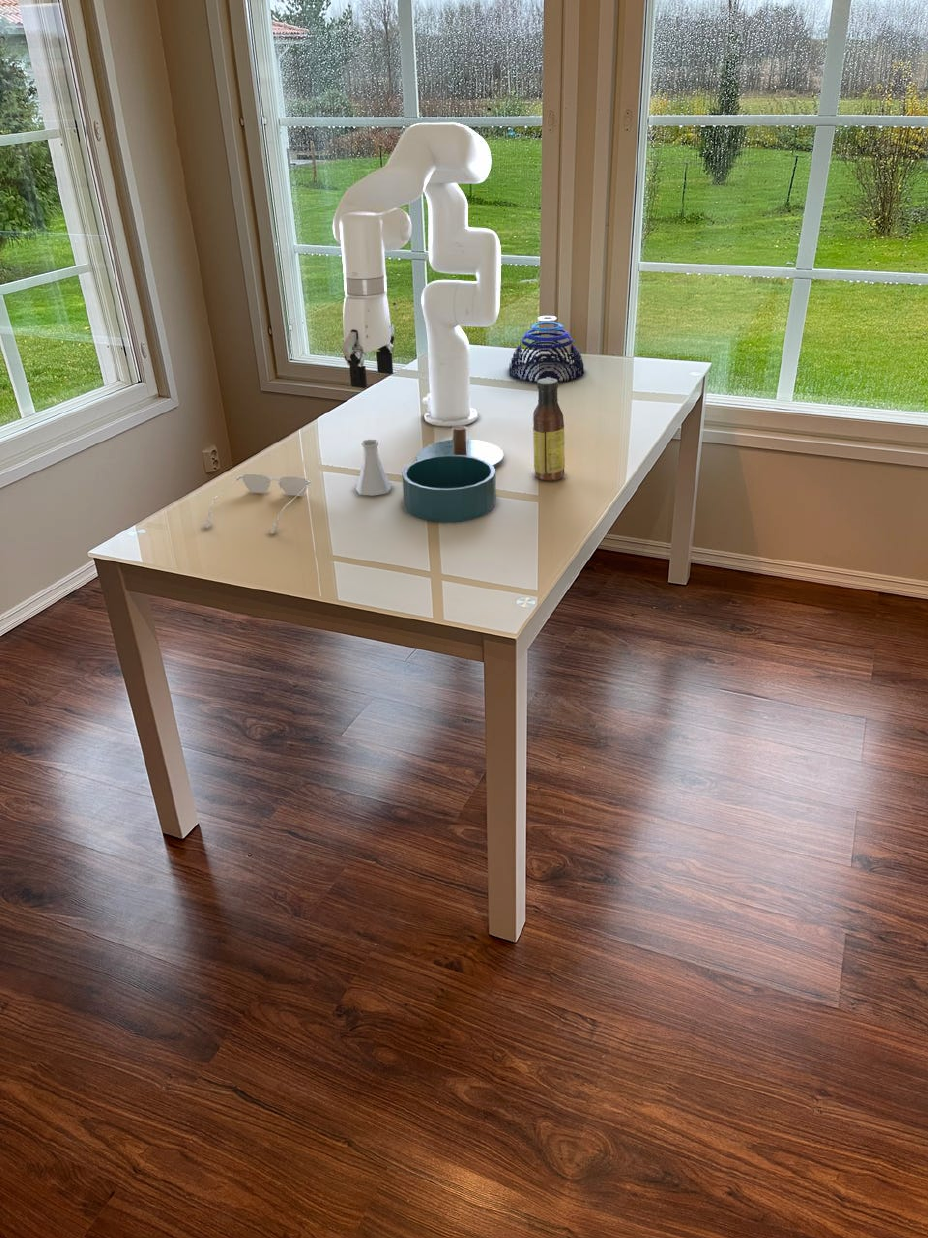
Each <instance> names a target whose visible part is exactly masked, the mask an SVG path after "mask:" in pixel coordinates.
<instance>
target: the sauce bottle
mask: <svg viewBox="0 0 928 1238" xmlns="http://www.w3.org/2000/svg"><path fill="white" fill-rule="evenodd" d="M536 381H537V380H536ZM536 384H537V385H536V388H537V390H538V391H537V392H538V393H537V394H538V400H537V404H536V407H535V408H534V410H533V413H532V420H533V421H532V423H533V427H532V437H533V438H532V439H533V443H532V444H533V470H534V475H535V477H536V478H537V479H538V480H542V481H548V482H549V481H556V480H557V481H558V480H560V479H562V478H564V475H565V468H566V463H565V460H566V459H565V456H566V454H565V452H566V451H565V419H564V414H563V412H562V409H561V408H560V405H559V403H558V402H559V401H558V389H559V383H558V380H556V379H553V378H550V377H546V378H544V379H540V380H538V381H537V383H536Z"/></svg>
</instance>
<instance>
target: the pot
mask: <svg viewBox="0 0 928 1238" xmlns="http://www.w3.org/2000/svg"><path fill="white" fill-rule="evenodd" d="M401 475H402V477H401V478H402V493H403V503H404V508H405V510H406V511H407V513H409V514H410V515H412V516H413V517H416V518H418V519H419V520H420V519H421V520H425V521H430V522H435V523H456V522H457V523H458V522H465V521H470V520H474V519H477V518H480V517H482V516H484V515H486V514H488V513H489V512H491V511H492V510H493V509H494V507H495V504H496V499H497V498H496V496H497V494H496V492H497V491H496V490H497V489H496V488H497V487H496V469H495V467H493V465H491V464H490V463H489V462H487V461H485V460H482V459H480V458H477V457H471V456H466V455H440V456H433V457H428V458H423V459H420V460H417V459H416V460H415V461H411V463H410V464H408V465H406V466H405V467H404V468H403V470H402V472H401Z"/></svg>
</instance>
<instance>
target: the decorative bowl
mask: <svg viewBox="0 0 928 1238" xmlns="http://www.w3.org/2000/svg"><path fill="white" fill-rule="evenodd" d="M537 321H540V322H536V323H533V324H532V325H531V329H529V330H526V332H525V333H524V335H523V336H522V338H521V344H519V345H518V346H517V348H516V349H515V350H514V352H513V356H512V357H511V359H510V360H511V361H510V362H509V363H508V364H509V367H508V369H509V370H508V372H509V376H510V377H511V378H512V379H515V380H518V381H520V382H524V383H525V382H526V383H530V384H537V381H538V380H540V379H544V378H553V379H556V380H558V384H560V383H561V384H562V383H567V382H571V381H574V380H577V379H580V378H581V377H583V375H584V374H585V371H584V362H583V361H584V360H583V358H582V354H581V353H580V352H579V349H578V348H577V347H576V345H575V344H574V339H573V338H572V337H571V336H570V333H569V332H568V331H567V330H566V329H563V328H564V325H562V324H561V323H558V322H556V321H557V316H554V315H542V316H539V317H537ZM554 321H555V322H554ZM540 325H554V326H555V327H538V326H540ZM543 335H544V336H543ZM545 335H549V336H550V337H547V336H545ZM526 339H528V340H529V341H532V342H528V341H526ZM566 339H568V340H567V341H565V342H560V341H563V340H566ZM522 345H523V346H525V348H524V349H522ZM568 346H570V349H569V350H570V352H569V350H568V348H566V347H568ZM541 352H542V353H541ZM543 352H548V353H543ZM527 355H528V356H527ZM531 364H532V365H531ZM523 366H524V367H523ZM544 366H546V367H544ZM567 366H568V367H567ZM545 369H547V370H545ZM549 369H550V370H549ZM551 369H553V370H551ZM555 371H556V372H557V373H556V372H555ZM540 372H541V373H540ZM567 376H568V377H567ZM560 378H562V380H561V379H560Z"/></svg>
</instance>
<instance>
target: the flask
mask: <svg viewBox="0 0 928 1238" xmlns="http://www.w3.org/2000/svg"><path fill="white" fill-rule="evenodd" d="M378 445H379V442H378V441H377V439H365V440H363V441H362V442H361V446H362V448H363V459H362V464H361V468H360V473H359V477H358V480H357V483H356V486H355V491H356V492H357V494H358V495H360V496H372V497H374V496H379V495H385V494H388V493H389V492H390V491H391V489H392V484H391V483H390V481H389V478H388V476H387V474H386V472H385V469H384V467H383V465H382V463H381V460H380V456H379V453H378Z"/></svg>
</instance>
